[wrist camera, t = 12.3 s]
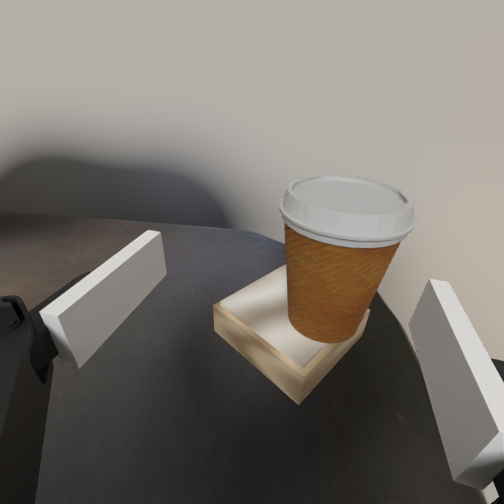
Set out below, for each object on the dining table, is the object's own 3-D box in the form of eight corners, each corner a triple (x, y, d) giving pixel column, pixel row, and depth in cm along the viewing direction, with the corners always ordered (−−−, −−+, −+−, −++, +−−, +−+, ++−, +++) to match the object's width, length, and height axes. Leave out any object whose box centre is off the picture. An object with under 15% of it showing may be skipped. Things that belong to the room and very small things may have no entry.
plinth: (214, 330, 30) (212, 301, 28) (282, 287, 36) (285, 261, 34) (298, 405, 23) (304, 373, 21) (362, 335, 30) (371, 306, 28)
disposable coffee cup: (352, 383, 20) (401, 234, 14) (249, 321, 25) (253, 192, 19) (390, 313, 27) (435, 190, 21) (302, 275, 32) (317, 167, 26)
